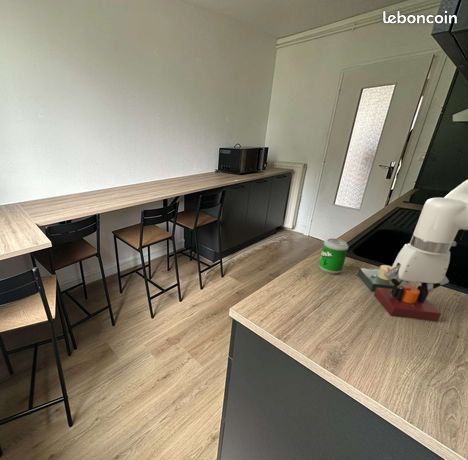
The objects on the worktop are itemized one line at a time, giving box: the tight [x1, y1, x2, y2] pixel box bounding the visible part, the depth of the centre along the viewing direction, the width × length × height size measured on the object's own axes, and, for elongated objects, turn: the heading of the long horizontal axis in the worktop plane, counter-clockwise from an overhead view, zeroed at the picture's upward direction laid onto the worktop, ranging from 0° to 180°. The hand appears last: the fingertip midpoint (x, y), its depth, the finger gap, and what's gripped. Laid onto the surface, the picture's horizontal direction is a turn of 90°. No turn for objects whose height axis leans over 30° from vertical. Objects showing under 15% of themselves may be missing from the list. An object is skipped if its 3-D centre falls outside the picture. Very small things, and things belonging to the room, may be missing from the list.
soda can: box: [318, 237, 349, 275], centre depth 94 cm, size 8×8×12 cm
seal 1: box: [377, 264, 394, 280], centre depth 85 cm, size 4×4×4 cm
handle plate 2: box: [373, 288, 442, 323], centre depth 75 cm, size 11×10×3 cm
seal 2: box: [400, 285, 420, 303], centre depth 74 cm, size 4×4×4 cm
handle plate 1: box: [357, 267, 412, 293], centre depth 86 cm, size 11×10×3 cm
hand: (406, 298), depth 75 cm, fingers open, 5 cm apart
